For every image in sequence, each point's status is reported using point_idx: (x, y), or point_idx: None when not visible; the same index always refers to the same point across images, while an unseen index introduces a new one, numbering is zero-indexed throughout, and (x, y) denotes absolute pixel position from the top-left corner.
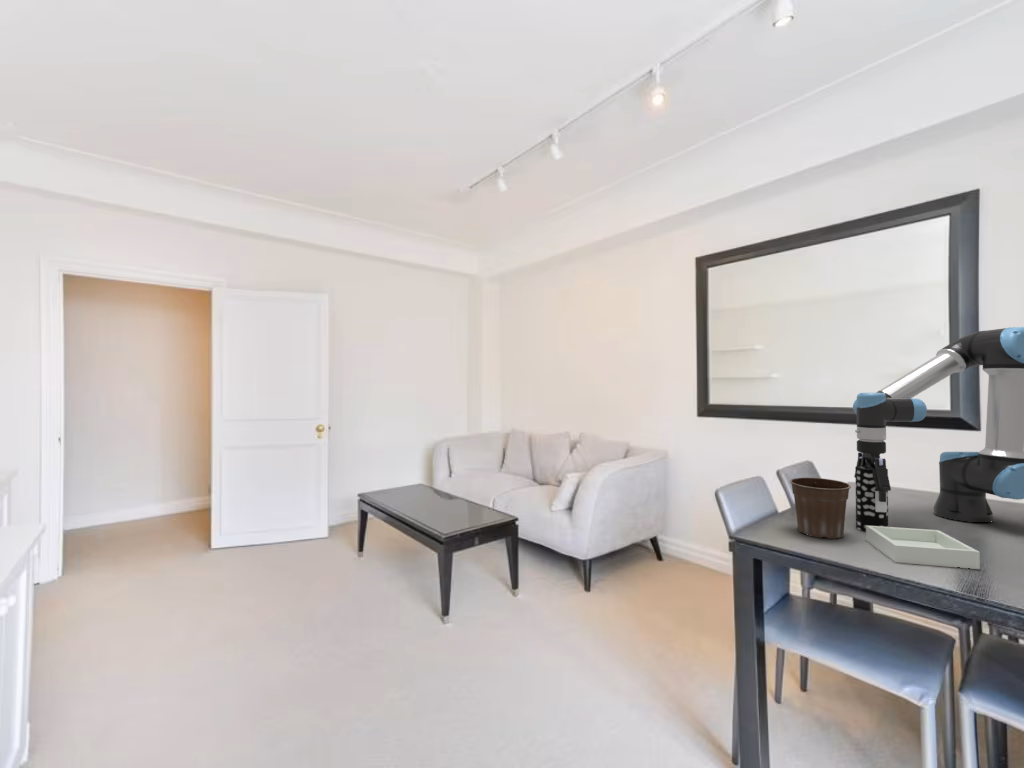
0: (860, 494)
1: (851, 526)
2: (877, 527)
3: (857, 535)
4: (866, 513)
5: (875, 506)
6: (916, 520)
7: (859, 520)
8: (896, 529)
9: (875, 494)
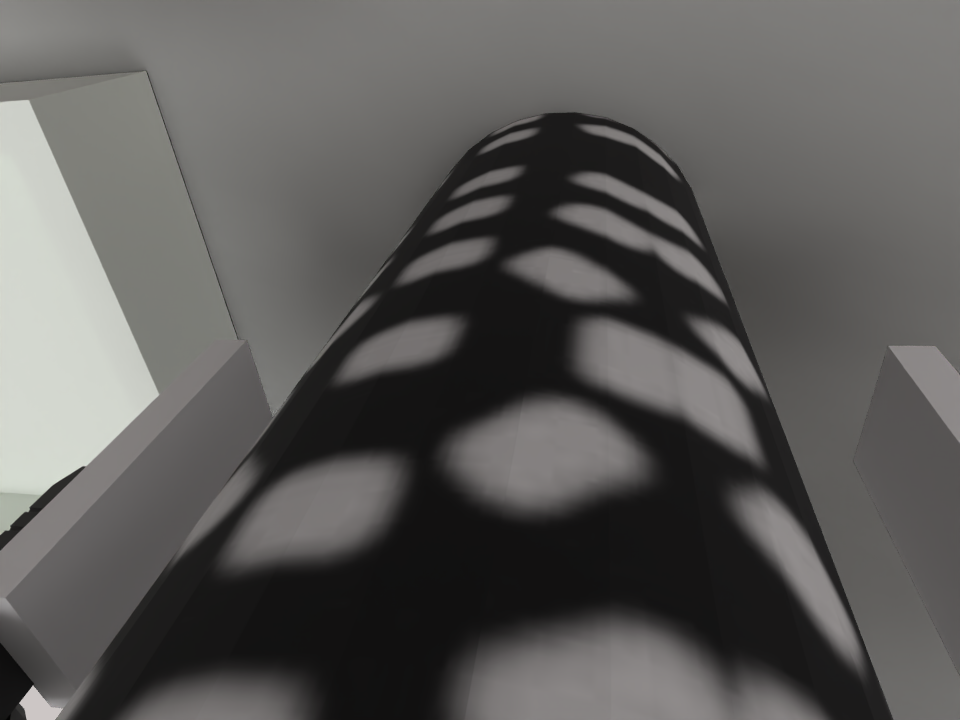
0: (354, 344)
1: (651, 80)
2: (35, 203)
3: (283, 34)
4: (392, 252)
5: (209, 378)
6: (941, 664)
7: (489, 154)
8: (112, 354)
9: (66, 523)
